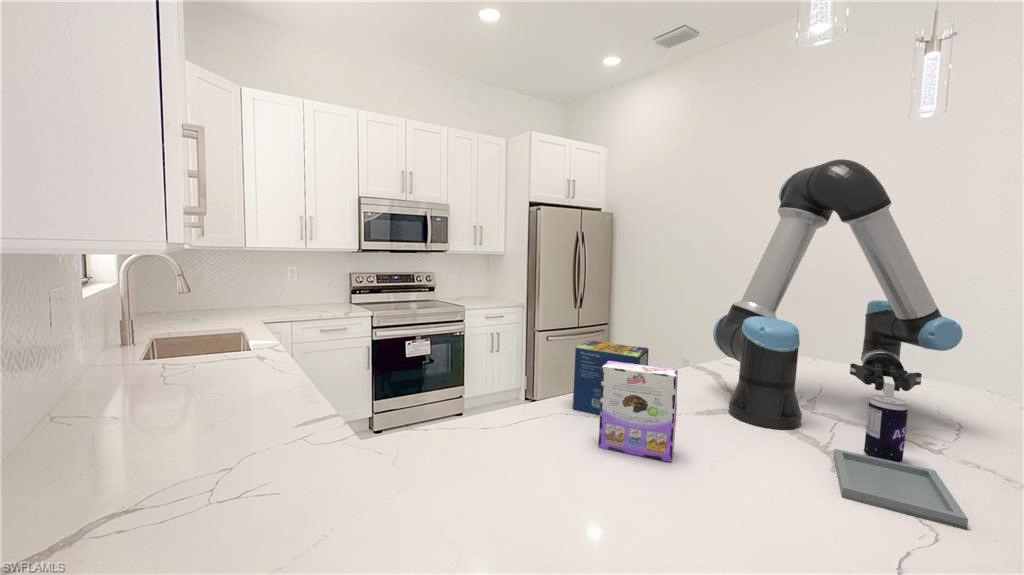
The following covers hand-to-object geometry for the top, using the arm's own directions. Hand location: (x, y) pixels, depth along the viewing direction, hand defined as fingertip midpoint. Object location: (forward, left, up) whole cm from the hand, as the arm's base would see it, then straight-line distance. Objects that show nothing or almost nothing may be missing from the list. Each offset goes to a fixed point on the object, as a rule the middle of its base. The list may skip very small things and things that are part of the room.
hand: (889, 389), depth 89 cm
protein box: (-54, -13, -12) cm, 57 cm away
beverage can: (-1, -7, -12) cm, 14 cm away
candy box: (-42, -31, -12) cm, 54 cm away
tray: (-2, -20, -12) cm, 24 cm away
